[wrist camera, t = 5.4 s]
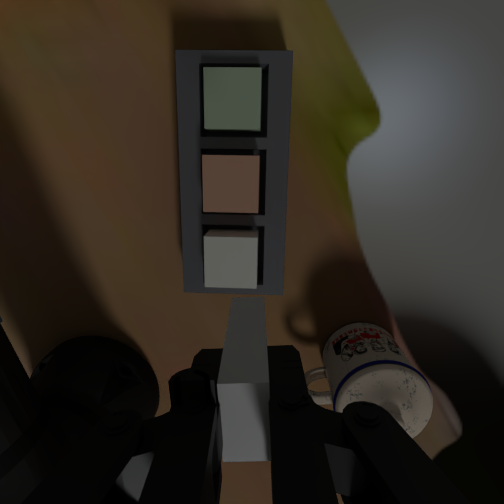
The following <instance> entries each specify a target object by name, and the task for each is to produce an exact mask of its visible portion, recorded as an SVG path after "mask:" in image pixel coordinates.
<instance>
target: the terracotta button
mask: <svg viewBox="0 0 504 504" xmlns="http://www.w3.org/2000/svg"><path fill="white" fill-rule="evenodd" d="M202 175H203V212H233V213H258V210H259V182H260V156H242V155H202Z"/></svg>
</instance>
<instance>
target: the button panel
mask: <svg viewBox="0 0 504 504" xmlns="http://www.w3.org/2000/svg"><path fill="white" fill-rule="evenodd" d="M175 60H176V87H177V115H178V142H179V170H180V198H181V225H182V253H183V280H184V292H196V293H229V294H261V295H283V278H284V254H285V231H286V207H287V183H288V159H289V135H290V112H291V88H292V64H293V51H282V50H175ZM203 67H252V68H262V102H261V133H248V132H210V131H208V130H206V129H204V73H203ZM202 155H242V156H260V182H259V210H258V213H233V212H203V175H202ZM209 229H241V230H258V274H257V289H251V288H218V287H205V276H204V235H205V234H206V233H207V232H208V231H209Z"/></svg>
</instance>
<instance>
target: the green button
mask: <svg viewBox="0 0 504 504" xmlns="http://www.w3.org/2000/svg"><path fill="white" fill-rule="evenodd" d="M203 73H204V129H206V130H208V131H210V132H248V133H261V102H262V68H252V67H203Z"/></svg>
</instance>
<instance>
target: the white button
mask: <svg viewBox="0 0 504 504" xmlns="http://www.w3.org/2000/svg"><path fill="white" fill-rule="evenodd" d="M257 274H258V230H241V229H209V231H208V232H207V233H206V234H205V235H204V276H205V287H218V288H251V289H257Z"/></svg>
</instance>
